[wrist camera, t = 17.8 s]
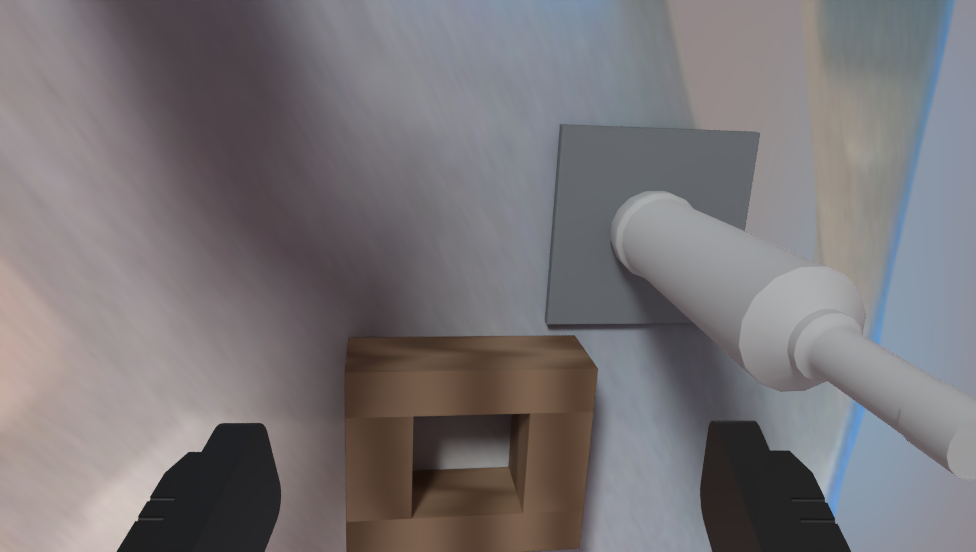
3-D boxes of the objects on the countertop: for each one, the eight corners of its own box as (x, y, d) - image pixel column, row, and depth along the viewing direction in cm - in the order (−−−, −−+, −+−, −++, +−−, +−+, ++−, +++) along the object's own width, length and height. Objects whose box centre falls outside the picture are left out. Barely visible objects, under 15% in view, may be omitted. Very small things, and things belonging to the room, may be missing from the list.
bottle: (702, 240, 43) (1090, 462, 20) (631, 287, 44) (930, 561, 20) (664, 170, 42) (1038, 320, 18) (590, 219, 42) (864, 430, 18)
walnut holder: (350, 509, 46) (346, 561, 41) (348, 337, 43) (344, 372, 38) (559, 499, 48) (579, 548, 43) (574, 335, 45) (597, 368, 40)
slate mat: (544, 320, 44) (546, 324, 44) (560, 124, 41) (562, 125, 40) (725, 319, 46) (729, 323, 45) (754, 131, 42) (760, 132, 42)
